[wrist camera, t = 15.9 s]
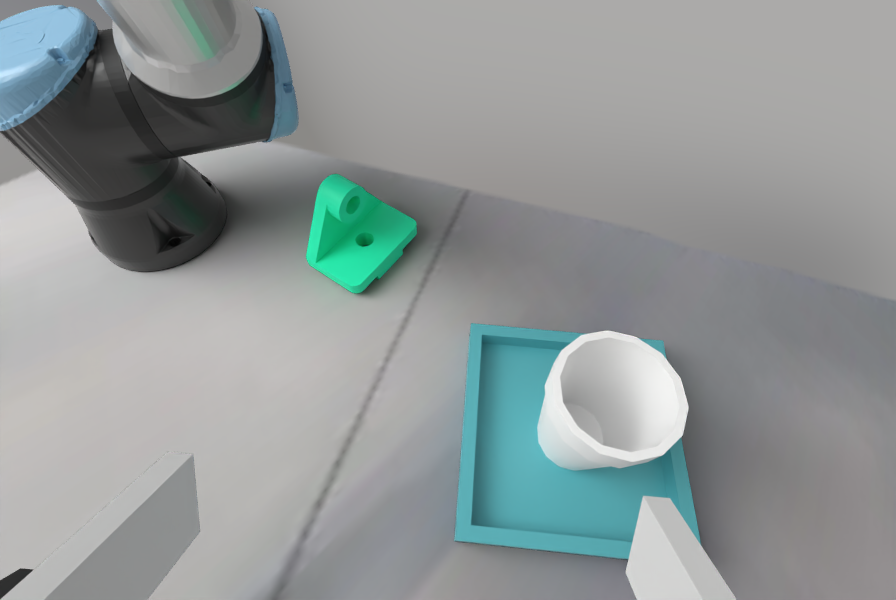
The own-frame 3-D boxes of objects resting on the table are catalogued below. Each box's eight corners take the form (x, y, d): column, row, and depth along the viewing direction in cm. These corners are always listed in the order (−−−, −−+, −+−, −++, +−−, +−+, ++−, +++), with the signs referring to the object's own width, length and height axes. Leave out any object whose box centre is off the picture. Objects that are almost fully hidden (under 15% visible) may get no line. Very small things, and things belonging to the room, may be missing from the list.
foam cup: (513, 472, 39) (543, 439, 28) (528, 379, 44) (558, 319, 33) (617, 500, 38) (691, 477, 27) (621, 402, 43) (686, 347, 32)
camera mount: (359, 301, 50) (342, 246, 41) (311, 270, 52) (285, 211, 43) (420, 236, 55) (417, 175, 46) (375, 210, 57) (363, 147, 48)
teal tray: (454, 541, 37) (455, 540, 35) (469, 335, 47) (471, 323, 45) (686, 566, 36) (705, 566, 34) (650, 352, 47) (663, 340, 44)
